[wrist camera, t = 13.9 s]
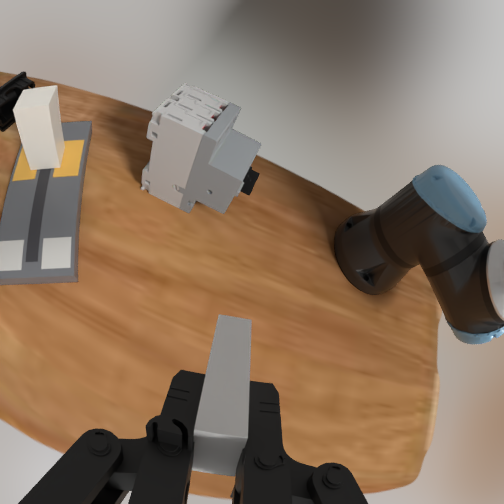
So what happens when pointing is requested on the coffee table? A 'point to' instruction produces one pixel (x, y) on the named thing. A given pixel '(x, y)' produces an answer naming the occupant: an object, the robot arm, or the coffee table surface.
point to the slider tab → (40, 127)
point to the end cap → (12, 98)
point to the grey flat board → (45, 215)
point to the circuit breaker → (198, 152)
